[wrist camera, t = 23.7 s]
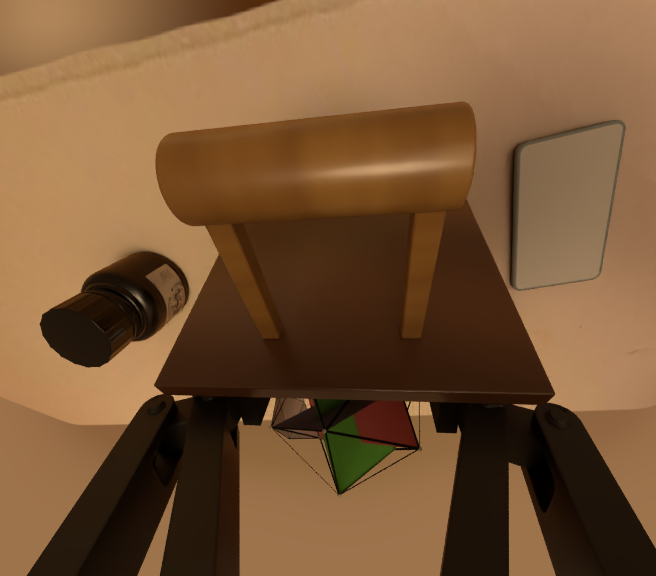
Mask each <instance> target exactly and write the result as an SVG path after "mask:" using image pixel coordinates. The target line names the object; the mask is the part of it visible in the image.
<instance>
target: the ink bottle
mask: <svg viewBox="0 0 656 576" xmlns="http://www.w3.org/2000/svg"><path fill="white" fill-rule="evenodd" d="M187 297H188V288H187V284H186V281H185V278H184V276H183V275H182V273H181V272H180V270H179V269H178V268H177V267H176V266H175V265H174V264H172V263H171V262H170V261H168V260H166V259H165V258H163V257H161V256H158V255H155V254H151V253H144V252H141V253H135V254H132V255H130V256H128V257H126V258H124V259H122V260H120V261H118V262H116V263H113V264H111V265H109V266H107V267H105V268H103V269H101V270H99V271H97V272H95V273H94V274H92V275H91V276H89V277H88V278H87V279H86V281H85V282H84V284H83V286H82V289H81V293H79V294H77V295H75V296H74V297H72V298H70V299H68V300H66V301H64V302H62V303H61V304H59V305H57V306H55V307H53V308H51V309H50V310H49V311H47V312H46V313H44V314H43V315H42V319H41V322H40V326H41V330H42V335H43V337H44V338H45V339H46V341H47V342H48V344H49V346H50V347H51V348H53V349H54V350H55V351H56V352H57V353H58V354H59V355H60V356H61V357H63V358H65V359H67V360H69V361H71V362H73V363H74V364H78V365H81V366H85V367H101V366H102V365H104V364H105V363H108V362H109V361H110V360H111V359H112V358H114V357H115V356H116V355H117V354H118V353H119V352H121V351H122V350H123V349H124V348H125V347H126V346H127V345H129V344H130V342H135V341H142V340H146V339H148V338H150V337H152V336H153V335H154V334H156V333H157V332H158V331H159V330H160V329H161V328H162V327H163V326H165V325H166V324H167V323H168V322H169V321H170V320H171V319H172V318H173V317H174V316H175V315H177V314H178V313H179V312H180V310H181V309H182V308H183V307H184V305H185V304H186V301H187Z"/></svg>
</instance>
